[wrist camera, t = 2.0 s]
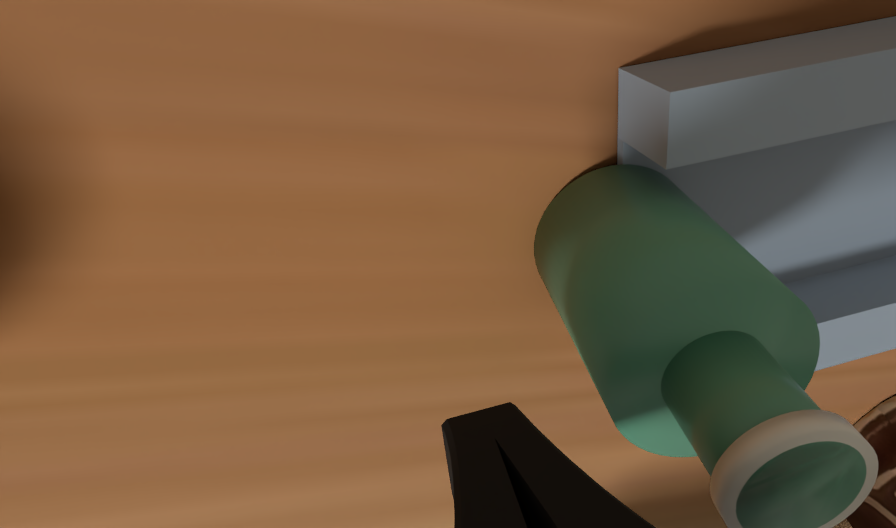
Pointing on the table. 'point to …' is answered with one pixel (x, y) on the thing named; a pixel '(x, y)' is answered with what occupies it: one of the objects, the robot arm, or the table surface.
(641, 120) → the cradle
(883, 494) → the coffee cup
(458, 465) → the robot arm
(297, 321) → the table surface
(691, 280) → the bottle
